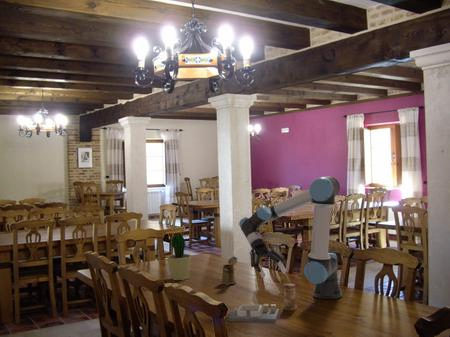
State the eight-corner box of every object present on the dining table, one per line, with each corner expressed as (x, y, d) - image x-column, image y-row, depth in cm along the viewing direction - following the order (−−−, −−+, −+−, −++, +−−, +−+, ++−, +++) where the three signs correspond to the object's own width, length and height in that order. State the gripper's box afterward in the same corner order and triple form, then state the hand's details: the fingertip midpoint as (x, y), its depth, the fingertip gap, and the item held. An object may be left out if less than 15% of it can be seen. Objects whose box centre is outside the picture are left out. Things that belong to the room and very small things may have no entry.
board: (279, 311, 236) (278, 302, 236) (275, 322, 221) (275, 312, 221) (235, 310, 241) (234, 301, 241) (228, 321, 225) (228, 311, 225)
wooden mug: (228, 287, 286) (227, 257, 286) (218, 283, 299) (217, 254, 298) (241, 285, 290) (240, 255, 290) (231, 281, 303) (230, 252, 302)
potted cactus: (193, 275, 322) (191, 230, 321) (189, 281, 306) (187, 234, 306) (170, 276, 323) (169, 231, 323) (165, 281, 308) (163, 234, 308)
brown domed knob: (297, 307, 243) (296, 283, 243) (296, 311, 236) (295, 286, 236) (284, 306, 244) (283, 283, 244) (283, 310, 238) (282, 286, 237)
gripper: (271, 243, 271) (290, 275, 258) (234, 249, 257) (252, 282, 245) (277, 235, 266) (296, 266, 254) (239, 240, 253) (258, 274, 240)
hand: (274, 274), depth 249 cm, fingers open, 13 cm apart
